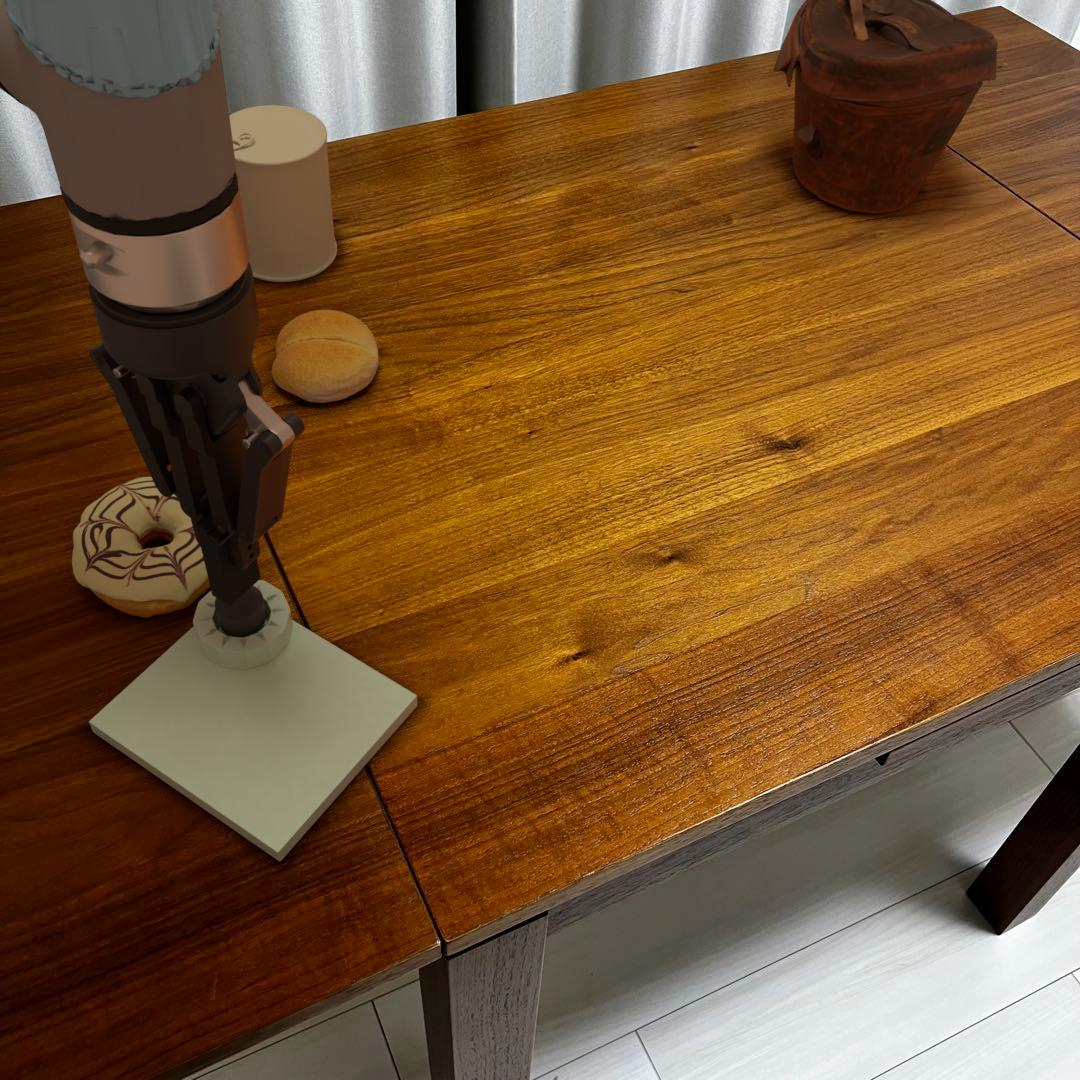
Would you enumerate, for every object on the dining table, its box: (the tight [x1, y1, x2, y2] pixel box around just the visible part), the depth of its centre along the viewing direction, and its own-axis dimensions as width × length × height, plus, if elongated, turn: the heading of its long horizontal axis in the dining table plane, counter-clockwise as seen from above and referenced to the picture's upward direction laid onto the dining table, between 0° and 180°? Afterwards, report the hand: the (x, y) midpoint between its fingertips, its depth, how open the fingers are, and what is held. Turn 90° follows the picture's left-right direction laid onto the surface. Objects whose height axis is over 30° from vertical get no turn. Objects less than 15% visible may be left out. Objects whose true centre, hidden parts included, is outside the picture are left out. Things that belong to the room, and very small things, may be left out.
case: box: [773, 0, 998, 214], centre depth 113 cm, size 18×20×18 cm
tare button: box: [215, 586, 266, 637], centre depth 75 cm, size 3×3×2 cm
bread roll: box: [271, 309, 380, 404], centre depth 95 cm, size 8×9×4 cm
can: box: [229, 104, 338, 283], centre depth 102 cm, size 9×9×12 cm
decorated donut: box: [71, 476, 211, 619], centre depth 81 cm, size 10×11×4 cm
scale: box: [88, 579, 418, 863], centre depth 73 cm, size 15×13×3 cm
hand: (236, 586), depth 74 cm, fingers closed
